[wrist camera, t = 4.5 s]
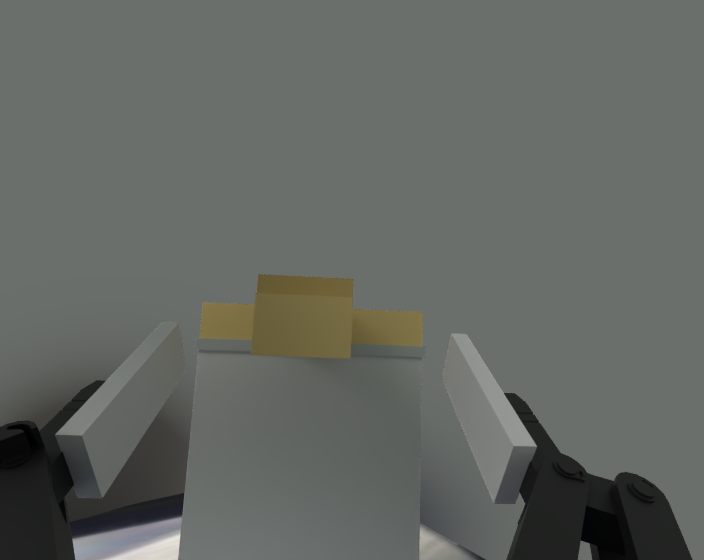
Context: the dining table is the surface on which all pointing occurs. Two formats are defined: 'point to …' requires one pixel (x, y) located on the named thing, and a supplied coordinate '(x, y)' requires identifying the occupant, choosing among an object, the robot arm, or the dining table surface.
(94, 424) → the robot arm
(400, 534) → the tall white upright box
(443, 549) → the dining table surface
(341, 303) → the paddle
